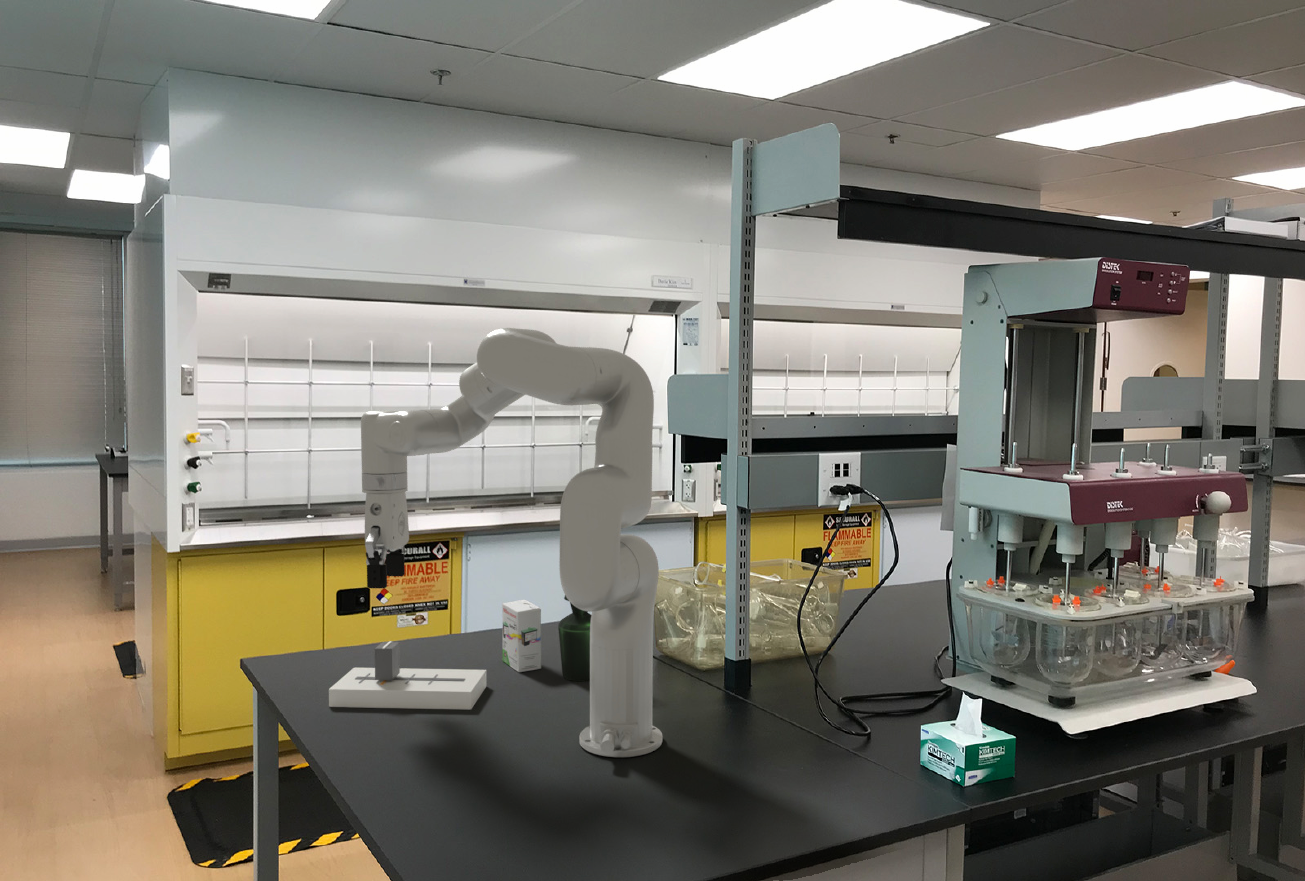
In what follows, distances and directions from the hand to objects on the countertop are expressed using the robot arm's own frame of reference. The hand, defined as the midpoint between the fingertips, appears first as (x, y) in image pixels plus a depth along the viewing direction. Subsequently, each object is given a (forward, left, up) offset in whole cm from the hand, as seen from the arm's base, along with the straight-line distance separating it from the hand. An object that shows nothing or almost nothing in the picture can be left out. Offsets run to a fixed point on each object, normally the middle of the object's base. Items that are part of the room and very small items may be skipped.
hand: (386, 581), depth 164 cm
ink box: (+19, -20, -20) cm, 34 cm away
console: (0, -4, -20) cm, 20 cm away
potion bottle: (+13, -32, -20) cm, 40 cm away
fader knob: (0, 0, -17) cm, 17 cm away
